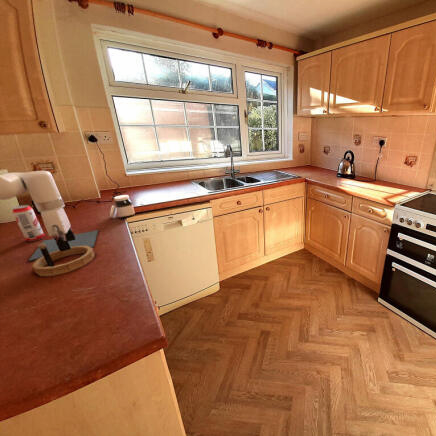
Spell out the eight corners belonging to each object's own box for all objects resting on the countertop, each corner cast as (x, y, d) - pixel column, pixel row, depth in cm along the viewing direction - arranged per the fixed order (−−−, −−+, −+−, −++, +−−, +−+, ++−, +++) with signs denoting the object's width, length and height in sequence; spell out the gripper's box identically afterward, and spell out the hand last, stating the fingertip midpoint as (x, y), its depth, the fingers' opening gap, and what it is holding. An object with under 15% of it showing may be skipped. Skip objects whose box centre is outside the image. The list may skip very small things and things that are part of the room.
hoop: (29, 281, 82) (25, 274, 81) (44, 260, 95) (40, 253, 94) (91, 266, 90) (88, 259, 88) (96, 248, 103) (94, 241, 102)
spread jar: (137, 216, 136) (131, 196, 132) (113, 222, 129) (106, 201, 125) (131, 211, 145) (126, 192, 140) (109, 217, 137) (102, 197, 133)
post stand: (48, 273, 86) (34, 245, 82) (50, 270, 88) (37, 242, 84) (57, 271, 87) (44, 243, 83) (59, 267, 89) (47, 240, 85)
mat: (29, 261, 94) (28, 260, 94) (44, 241, 110) (43, 240, 110) (93, 247, 103) (92, 246, 103) (98, 231, 119) (97, 230, 119)
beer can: (25, 243, 109) (8, 210, 103) (28, 238, 113) (12, 206, 107) (44, 239, 112) (29, 206, 106) (46, 235, 117) (32, 203, 111)
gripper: (43, 201, 95) (61, 239, 102) (28, 213, 82) (50, 257, 88) (68, 197, 99) (83, 234, 106) (57, 208, 85) (76, 251, 92)
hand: (68, 245), depth 97 cm, fingers open, 9 cm apart
